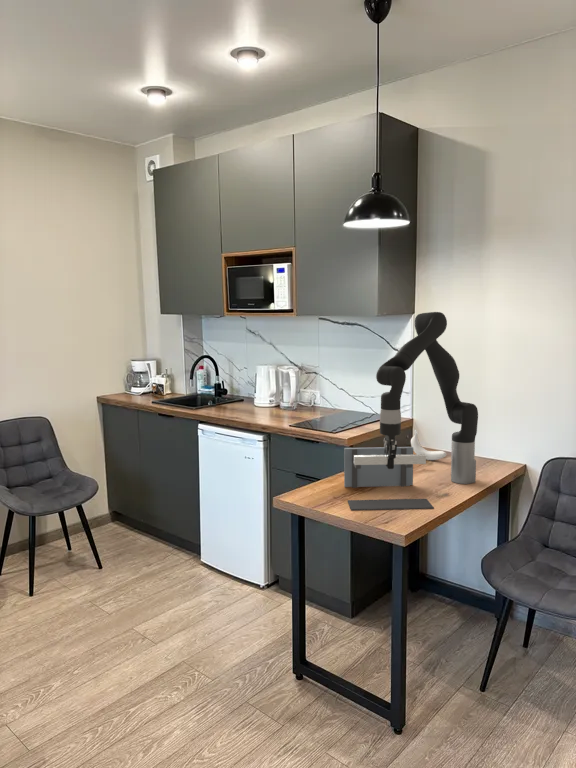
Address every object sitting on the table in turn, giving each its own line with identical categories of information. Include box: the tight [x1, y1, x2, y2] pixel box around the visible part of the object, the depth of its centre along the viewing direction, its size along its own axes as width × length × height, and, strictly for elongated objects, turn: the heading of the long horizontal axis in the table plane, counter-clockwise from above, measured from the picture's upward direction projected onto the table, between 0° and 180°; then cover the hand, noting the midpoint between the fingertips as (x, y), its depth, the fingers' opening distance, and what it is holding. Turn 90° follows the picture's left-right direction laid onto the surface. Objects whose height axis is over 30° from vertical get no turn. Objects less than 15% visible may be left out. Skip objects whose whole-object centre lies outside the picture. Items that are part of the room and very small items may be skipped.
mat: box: [347, 498, 435, 511], centre depth 212 cm, size 30×10×1 cm, turn 91°
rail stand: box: [343, 446, 414, 489], centre depth 228 cm, size 28×13×16 cm, turn 91°
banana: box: [410, 428, 447, 461], centre depth 274 cm, size 5×19×15 cm, turn 49°
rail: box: [354, 453, 427, 465], centre depth 210 cm, size 26×2×3 cm, turn 91°
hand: (389, 467), depth 210 cm, fingers closed on rail, 2 cm apart
